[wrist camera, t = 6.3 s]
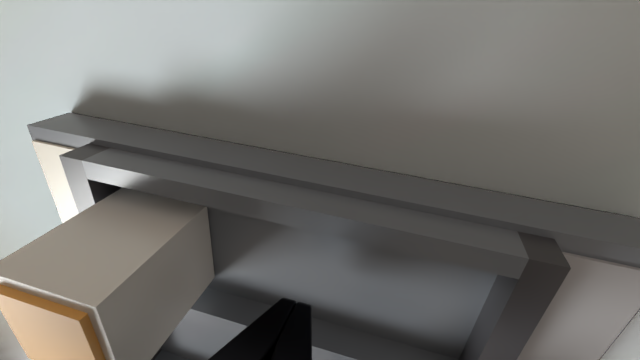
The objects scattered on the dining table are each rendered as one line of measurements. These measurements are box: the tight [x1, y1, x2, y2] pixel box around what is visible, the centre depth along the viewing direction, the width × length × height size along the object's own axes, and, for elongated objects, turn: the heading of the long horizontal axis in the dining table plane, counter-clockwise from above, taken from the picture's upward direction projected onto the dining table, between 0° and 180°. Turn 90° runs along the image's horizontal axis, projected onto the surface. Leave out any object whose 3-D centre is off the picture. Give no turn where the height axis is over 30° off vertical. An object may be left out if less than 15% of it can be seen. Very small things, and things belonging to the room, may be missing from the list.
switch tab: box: [0, 188, 215, 360], centre depth 9 cm, size 3×3×4 cm
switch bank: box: [27, 113, 640, 360], centre depth 13 cm, size 18×16×2 cm
